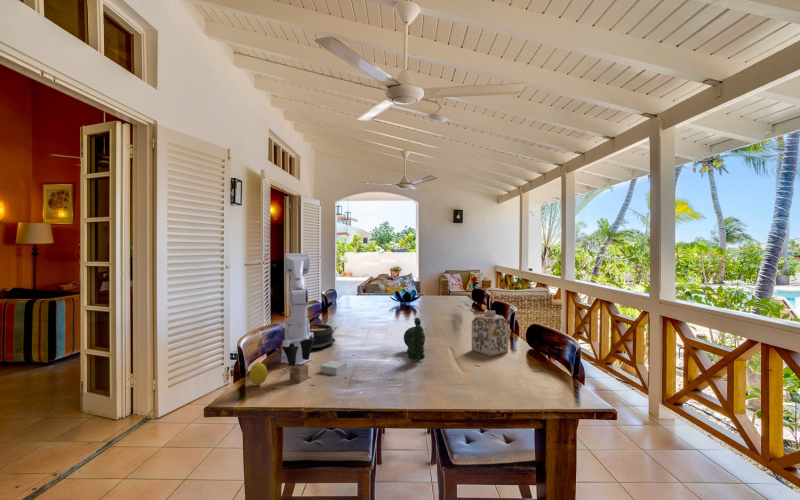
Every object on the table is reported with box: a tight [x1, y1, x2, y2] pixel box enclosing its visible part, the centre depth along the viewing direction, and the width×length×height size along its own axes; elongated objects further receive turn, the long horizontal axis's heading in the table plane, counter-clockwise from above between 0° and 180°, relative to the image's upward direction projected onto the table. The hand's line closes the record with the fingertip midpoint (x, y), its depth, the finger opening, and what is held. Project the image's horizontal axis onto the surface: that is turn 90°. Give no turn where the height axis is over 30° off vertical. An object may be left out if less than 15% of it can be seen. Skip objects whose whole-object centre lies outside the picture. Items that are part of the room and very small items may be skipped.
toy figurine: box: [403, 317, 426, 360], centre depth 167 cm, size 9×19×25 cm
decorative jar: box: [471, 310, 509, 357], centre depth 173 cm, size 12×12×18 cm
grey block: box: [320, 359, 348, 376], centre depth 146 cm, size 7×7×3 cm
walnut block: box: [289, 363, 309, 384], centre depth 137 cm, size 4×4×5 cm
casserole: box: [310, 323, 336, 349], centre depth 184 cm, size 25×19×8 cm
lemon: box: [249, 361, 268, 387], centre depth 131 cm, size 6×6×8 cm
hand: (299, 362), depth 137 cm, fingers open, 7 cm apart
